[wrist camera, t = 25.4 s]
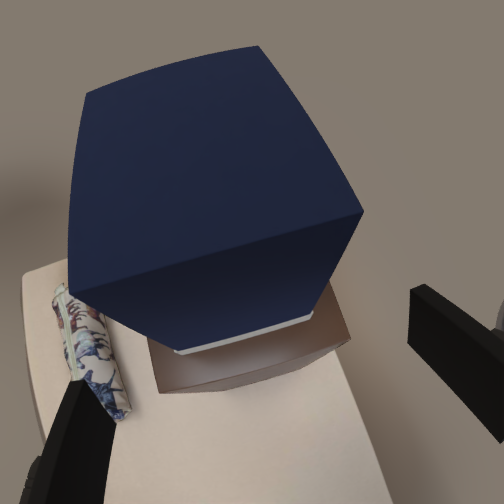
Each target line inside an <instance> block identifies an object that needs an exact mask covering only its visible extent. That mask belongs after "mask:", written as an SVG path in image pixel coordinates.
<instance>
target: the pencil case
mask: <svg viewBox="0 0 504 504" xmlns="http://www.w3.org/2000/svg"><path fill="white" fill-rule="evenodd" d="M55 294H56V296H55V297H54V299H53V302H52V307H53V310H54V311H55V313H56V315H57V323H58V326H59V328H60V331H61V335H62V339H63V344H64V354H65V358H66V361H67V364H68V366H69V369H70V371H71V381H76V380H83V379H85V380H86V382H87V383H88V385H89V386H90V388H91V389H92V391H93V392H94V394H95V395H96V397H97V398H98V400H99V401H100V402H101V404H102V405H103V407H104V408H105V409H106V411H107V412H108V413H109V415H110V416H111V417H112V419H113V420H114V421H115V423H116V422H118V421H121V420H123V419H124V418H125V417H126V415H127V414H128V413H130V412H131V410H132V408H131V405H130V403H129V401H128V398H127V395H126V392H125V389H124V386H123V383H122V381H121V378H120V374H119V371H118V368H117V364H116V361H115V358H114V355H113V351H112V347H111V344H110V338H109V335H108V332H107V327H106V322H105V318H104V314H102V313H100V312H99V311H97V310H95V309H93V308H91V307H90V306H88V305H86V304H85V303H83V302H81V301H79V300H78V299H76V298H74V297H73V296H71V295H69V291H68V287H67V288H65V287H64V283H61V284H60V285H59V286H58V287H57V288H56V290H55Z"/></svg>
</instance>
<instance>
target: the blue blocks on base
mask: <svg viewBox="0 0 504 504" xmlns="http://www.w3.org/2000/svg"><path fill="white" fill-rule="evenodd" d="M363 213H364V210H363V209H362V206H361V204H360V202H359V201H358V199H357V197H356V195H355V193H354V191H353V189H352V188H351V186H350V184H349V182H348V180H347V179H346V177H345V175H344V173H343V172H342V170H341V168H340V166H339V165H338V163H337V161H336V159H335V158H334V156H333V154H332V153H331V151H330V149H329V148H328V146H327V144H326V143H325V141H324V140H323V138H322V136H321V135H320V133H319V132H318V130H317V128H316V127H315V125H314V124H313V122H312V121H311V119H310V117H309V116H308V114H307V113H306V112H305V110H304V109H303V107H302V105H301V104H300V102H299V101H298V100H297V98H296V97H295V95H294V94H293V92H292V91H291V89H290V88H289V86H288V85H287V84H286V82H285V81H284V79H283V78H282V77H281V75H280V74H279V72H278V71H277V70H276V68H275V67H274V66H273V64H272V63H271V62H270V60H269V59H268V58H267V56H266V55H265V54H264V53H263V51H262V50H261V49H260V47H259V46H252V47H246V48H239V49H233V50H228V51H223V52H218V53H213V54H208V55H204V56H199V57H195V58H191V59H187V60H183V61H179V62H175V63H171V64H168V65H164V66H161V67H158V68H154V69H151V70H148V71H145V72H141V73H138V74H135V75H132V76H129V77H127V78H124V79H121V80H118V81H116V82H113V83H110V84H108V85H105V86H102V87H100V88H98V89H95V90H93V91H90V92H88V93H86V97H85V102H84V107H83V111H82V116H81V121H80V127H79V132H78V139H77V145H76V151H75V158H74V166H73V174H72V183H71V194H70V208H69V225H68V226H69V227H68V291H69V295H71V296H73V297H74V298H76V299H78V300H79V301H81V302H83V303H85V304H86V305H88V306H90V307H91V308H93V309H95V310H97V311H99V312H100V313H102V314H104V315H106V316H108V317H109V318H111V319H113V320H115V321H117V322H119V323H121V324H123V325H125V326H126V327H128V328H130V329H132V330H134V331H136V332H138V333H140V334H142V335H144V336H146V337H148V338H150V339H152V340H154V341H156V342H159V343H161V344H163V345H165V346H167V347H169V348H171V349H174V352H176V353H178V354H180V355H185V354H189V353H194V352H198V351H202V350H206V349H210V348H213V347H217V346H221V345H225V344H229V343H232V342H236V341H239V340H243V339H247V338H250V337H254V336H257V335H261V334H264V333H267V332H271V331H274V330H277V329H281V328H284V327H287V326H290V325H293V324H297V323H300V322H303V321H306V320H309V319H310V318H311V316H312V315H313V308H314V307H315V305H316V303H317V301H318V300H319V298H320V296H321V294H322V292H323V291H324V289H325V287H326V285H327V283H328V281H329V279H330V278H331V276H332V274H333V272H334V270H335V268H336V266H337V264H338V262H339V260H340V259H341V257H342V255H343V253H344V251H345V249H346V247H347V245H348V243H349V241H350V239H351V237H352V235H353V233H354V231H355V229H356V227H357V225H358V223H359V221H360V219H361V217H362V215H363Z"/></svg>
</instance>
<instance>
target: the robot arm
mask: <svg viewBox="0 0 504 504" xmlns="http://www.w3.org/2000/svg"><path fill="white" fill-rule="evenodd" d="M407 343H408V344H409V345H410V346H411V347H412V348H413V349H414V351H416V353H417V354H418V355H419V356H420V357H421V358H422V359H423V360H424V361H425V362H426V363H427V364H428V365H429V366H430V367H431V368H432V369H433V370H434V371H435V372H436V373H437V375H438V376H439V377H440V378H441V379H442V380H443V381H444V382H445V383H446V384H447V385H448V386H449V387H450V388H451V389H452V391H454V393H455V394H456V395H457V396H458V397H459V398H460V399H461V400H462V401H463V403H465V405H466V406H467V407H468V408H469V409H470V410H471V411H472V412H473V414H474V415H475V416H476V417H477V418H478V419H479V420H480V421H481V423H482V424H483V425H484V426H485V427H486V428H487V429H488V430H489V432H490V433H491V434H492V435H493V436H494V437H495V439H496V440H497V441H498V442H499V443H502V442H503V441H504V331H501V330H499V329H496V328H494V329H493V330H491V331H490V330H488V329H487V328H486V327H484V326H483V325H482V324H480V323H479V322H478V321H476V320H475V319H474V318H472V317H471V316H469V315H468V314H467V313H466V312H464V311H463V310H461V309H460V308H459V307H457V306H456V305H454V304H453V303H452V302H450V301H449V300H447V299H446V298H445V297H443V296H442V295H440V294H439V293H437V292H436V291H435V290H433V289H432V288H430V287H429V286H427V285H426V284H422V285H420V286H417V287H415V288H412V289H410V309H409V328H408V342H407ZM116 425H117V424H116V423H115V421H114V420H113V419H112V417H111V416H110V415H109V413H108V412H107V411H106V409H105V408H104V407H103V405H102V404H101V402H100V401H99V400H98V398H97V397H96V395H95V394H94V392H93V391H92V389H91V388H90V386H89V385H88V383H87V382H86V380H85V379H83V380H76V381H70V383H69V385H68V387H67V390H66V392H65V395H64V397H63V399H62V402H61V404H60V407H59V409H58V412H57V414H56V417H55V419H54V422H53V425H52V427H51V430H50V433H49V435H48V438H47V441H46V444H45V447H44V450H43V453H42V456H38V457H37V458H36V460H35V461H34V462H33V463H32V465H31V467H30V470H29V473H28V476H27V478H28V479H26V482H25V488H24V489H23V492H22V496H21V499H20V503H19V504H103V503H104V495H105V488H106V481H107V475H108V468H109V462H110V456H111V451H112V445H113V440H114V435H115V430H116Z"/></svg>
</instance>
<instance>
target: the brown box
mask: <svg viewBox="0 0 504 504" xmlns="http://www.w3.org/2000/svg"><path fill="white" fill-rule="evenodd" d="M349 340H351V337H350V335H349V332H348V329H347V326H346V324H345V321H344V318H343V315H342V313H341V310H340V307H339V305H338V302H337V300H336V297H335V294H334V292H333V289H332V287H331V284H330V281H328V283H327V285H326V287H325V289H324V291H323V292H322V294H321V296H320V298H319V300H318V301H317V303H316V305H315V307H314V308H313V315H312V316H311V318H310V319H309V320H306V321H303V322H300V323H297V324H293V325H290V326H287V327H284V328H281V329H277V330H274V331H271V332H267V333H264V334H261V335H257V336H254V337H250V338H247V339H243V340H239V341H236V342H232V343H229V344H225V345H221V346H217V347H213V348H210V349H206V350H202V351H198V352H194V353H189V354H185V355H180V354H178V353H176V352H174V349H171V348H169V347H167V346H165V345H163V344H161V343H159V342H156V341H154V340H152V339H150V338H148V337H147V342H148V347H149V352H150V356H151V361H152V366H153V370H154V375H155V379H156V383H157V387H158V392H159V393H160V394H170V393H200V392H217V391H225V390H229V389H233V388H237V387H241V386H245V385H248V384H252V383H256V382H259V381H263V380H266V379H269V378H273V377H276V376H279V375H283V374H286V373H289V372H292V371H295V370H298V369H301V368H303V367H305V366H307V365H308V364H310V363H312V362H314V361H315V360H317V359H319V358H321V357H322V356H324V355H326V354H328V353H329V352H331V351H333V350H334V349H336V348H338V347H339V346H341V345H343V344H344V343H346V342H348V341H349Z"/></svg>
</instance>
